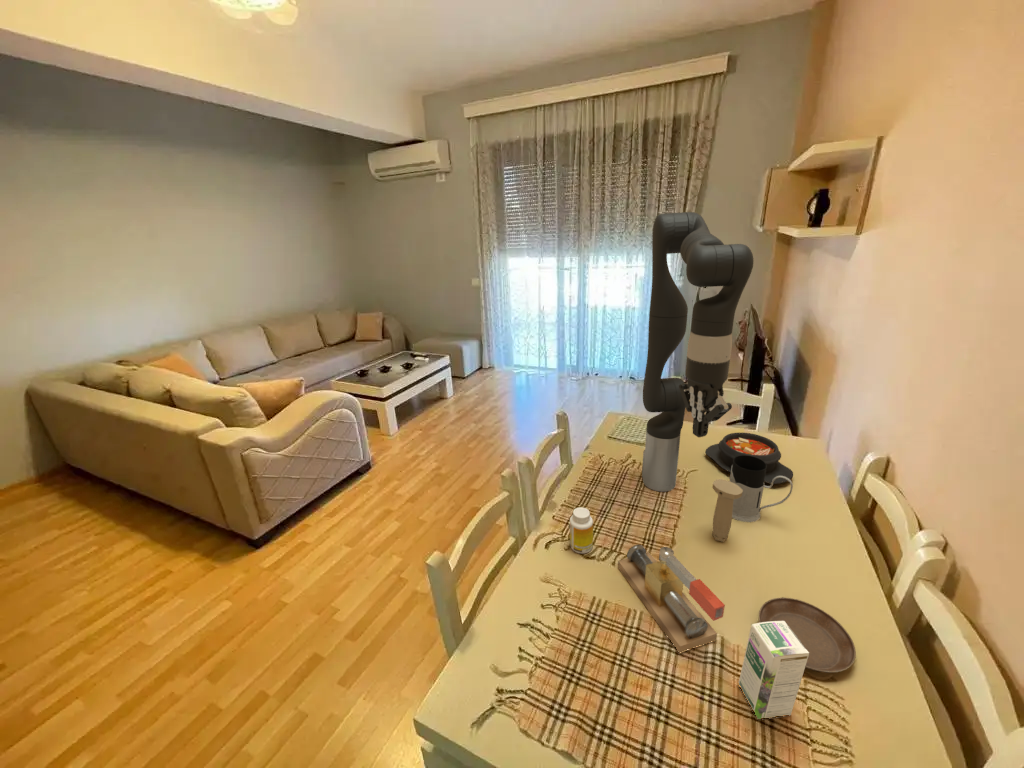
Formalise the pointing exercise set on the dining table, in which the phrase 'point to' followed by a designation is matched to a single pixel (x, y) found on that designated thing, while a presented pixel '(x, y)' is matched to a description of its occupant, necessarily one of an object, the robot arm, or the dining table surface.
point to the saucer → (813, 633)
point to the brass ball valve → (667, 591)
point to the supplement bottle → (581, 530)
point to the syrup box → (772, 668)
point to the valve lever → (693, 585)
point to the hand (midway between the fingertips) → (699, 435)
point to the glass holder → (750, 487)
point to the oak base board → (664, 609)
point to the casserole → (750, 454)
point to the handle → (724, 507)
